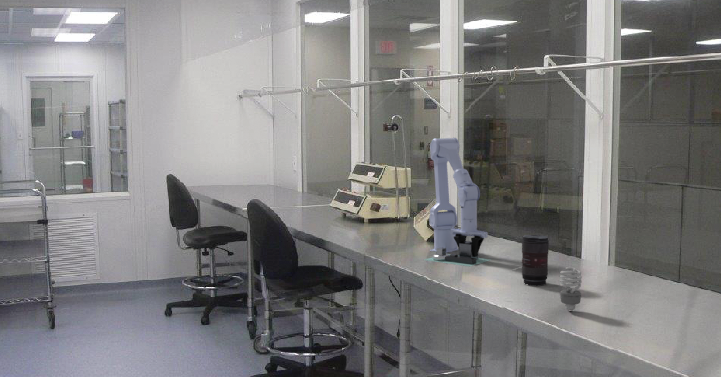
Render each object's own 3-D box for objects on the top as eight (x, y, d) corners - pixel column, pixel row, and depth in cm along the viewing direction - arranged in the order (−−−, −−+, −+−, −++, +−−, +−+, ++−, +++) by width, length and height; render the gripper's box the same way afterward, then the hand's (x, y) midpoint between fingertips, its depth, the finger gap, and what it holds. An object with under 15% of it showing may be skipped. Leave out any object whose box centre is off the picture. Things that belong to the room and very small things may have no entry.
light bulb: (556, 308, 204) (556, 265, 203) (576, 308, 204) (577, 264, 203) (563, 314, 198) (564, 269, 197) (584, 313, 199) (585, 268, 197)
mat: (446, 254, 285) (446, 253, 285) (492, 260, 272) (492, 259, 272) (422, 260, 274) (422, 259, 274) (469, 267, 261) (469, 266, 261)
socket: (466, 257, 277) (466, 239, 276) (478, 259, 274) (478, 241, 273) (459, 259, 273) (459, 241, 272) (471, 261, 270) (471, 243, 269)
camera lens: (548, 287, 229) (549, 238, 228) (521, 286, 231) (522, 238, 230) (547, 281, 237) (548, 234, 236) (521, 280, 239) (521, 233, 238)
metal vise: (478, 262, 267) (478, 251, 267) (469, 265, 263) (469, 253, 262) (439, 257, 278) (439, 246, 278) (429, 259, 274) (429, 248, 273)
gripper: (445, 218, 274) (446, 255, 275) (480, 221, 264) (480, 259, 265) (456, 216, 279) (456, 252, 280) (490, 219, 269) (490, 256, 271)
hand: (468, 255), depth 273 cm, fingers closed on socket, 5 cm apart
